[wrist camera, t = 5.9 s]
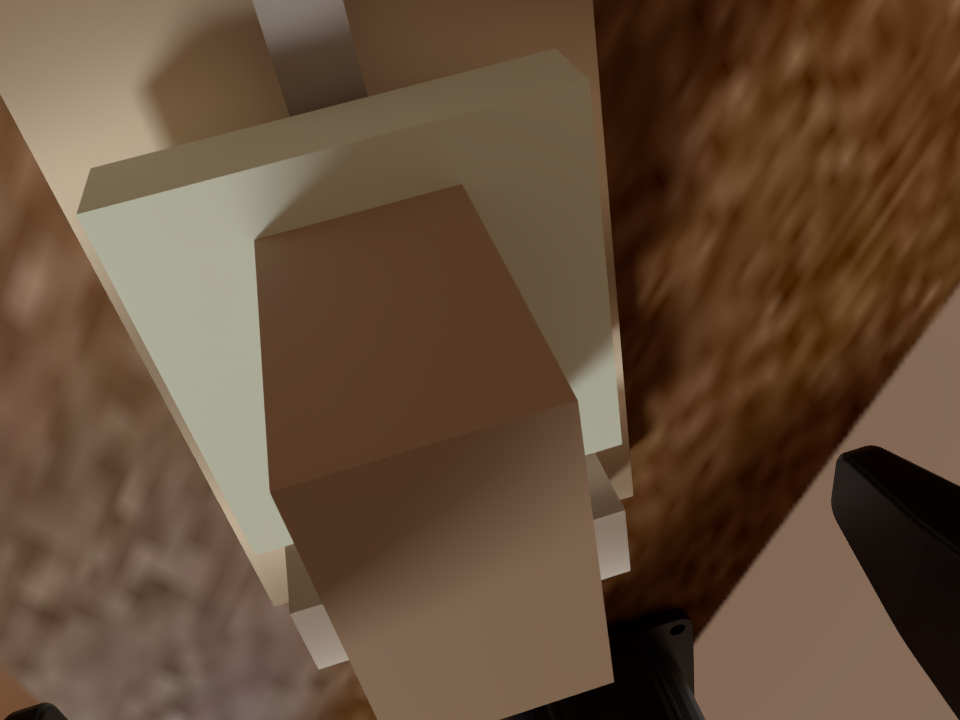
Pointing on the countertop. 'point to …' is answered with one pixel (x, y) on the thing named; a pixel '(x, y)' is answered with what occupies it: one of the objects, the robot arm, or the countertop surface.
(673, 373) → the countertop surface
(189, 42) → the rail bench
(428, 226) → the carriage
